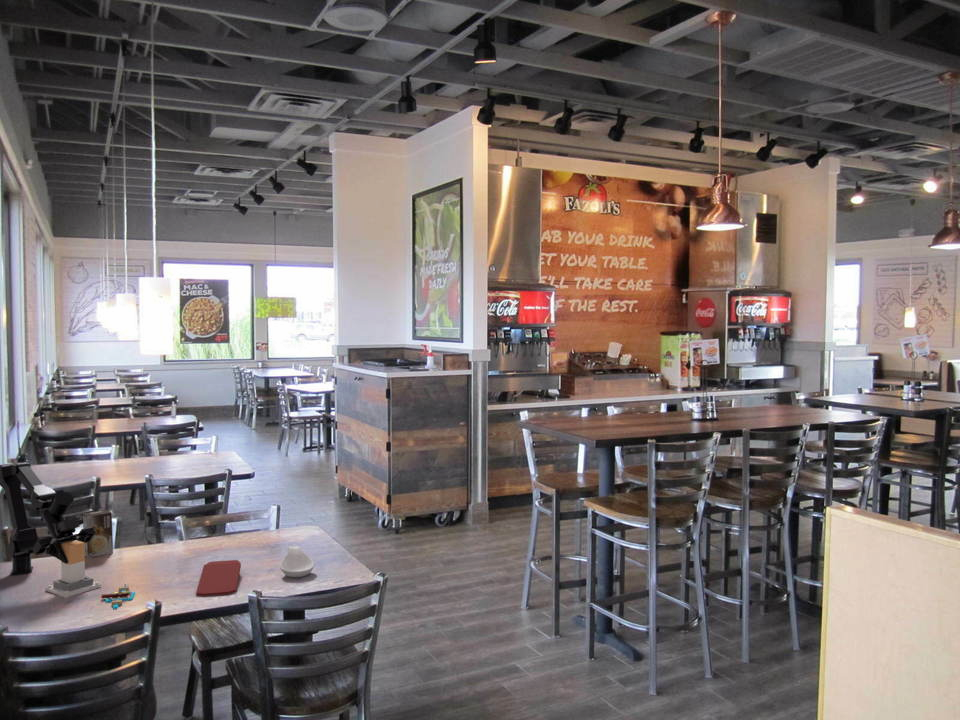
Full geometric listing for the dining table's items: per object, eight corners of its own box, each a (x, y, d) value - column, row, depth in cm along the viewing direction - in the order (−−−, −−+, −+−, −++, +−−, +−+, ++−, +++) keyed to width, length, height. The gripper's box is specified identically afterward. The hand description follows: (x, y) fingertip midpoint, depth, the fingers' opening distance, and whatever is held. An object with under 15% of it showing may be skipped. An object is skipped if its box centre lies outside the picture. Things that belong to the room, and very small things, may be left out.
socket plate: (45, 590, 244) (45, 581, 244) (81, 580, 254) (80, 571, 254) (65, 597, 238) (65, 588, 238) (101, 586, 248) (101, 577, 248)
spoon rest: (316, 578, 258) (316, 558, 257) (281, 582, 253) (281, 562, 253) (307, 559, 280) (307, 540, 279) (275, 562, 276) (275, 543, 275)
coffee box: (109, 549, 290) (108, 509, 290) (113, 553, 285) (112, 512, 285) (83, 554, 284) (82, 513, 284) (86, 558, 279) (86, 516, 279)
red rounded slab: (235, 605, 242) (242, 569, 267) (235, 591, 242) (241, 556, 266) (196, 608, 240) (206, 572, 264) (195, 594, 239) (205, 559, 263)
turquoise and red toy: (95, 612, 227) (129, 609, 229) (95, 595, 227) (128, 592, 229) (107, 590, 246) (138, 588, 249) (107, 574, 246) (138, 572, 248)
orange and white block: (61, 580, 245) (61, 543, 245) (76, 576, 249) (76, 540, 249) (69, 583, 243) (69, 546, 242) (84, 579, 247) (84, 542, 246)
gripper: (36, 514, 239) (55, 553, 234) (92, 503, 255) (111, 540, 250) (24, 535, 244) (42, 574, 238) (80, 522, 260) (98, 559, 254)
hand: (75, 560), depth 245 cm, fingers closed on orange and white block, 5 cm apart
